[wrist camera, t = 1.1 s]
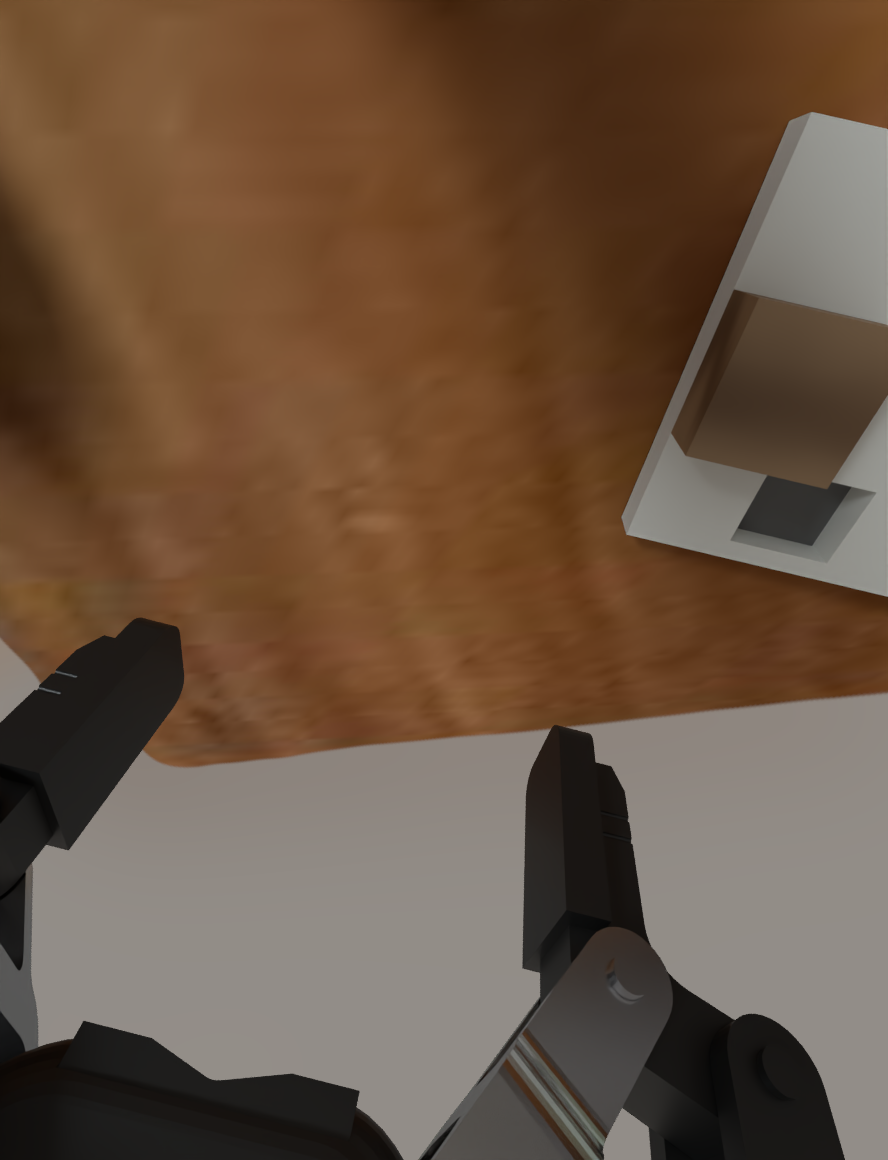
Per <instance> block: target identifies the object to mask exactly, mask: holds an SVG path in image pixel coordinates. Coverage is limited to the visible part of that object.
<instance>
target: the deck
mask: <svg viewBox="0 0 888 1160" xmlns="http://www.w3.org/2000/svg"><path fill="white" fill-rule="evenodd" d="M734 289H735V290H740V291H744V292H748V293H753V294H757V295H761V296H766V297H770V298H774V299H779V300H783V301H787V302H792V303H796V304H800V305H805V306H809V307H813V308H818V309H822V310H826V311H830V312H835V313H839V314H843V315H848V316H852V317H856V318H861V319H865V320H869V321H874V322H878V323H882V324H886V325H888V129H885V128H881V127H876V126H872V125H867V124H863V123H858V122H854V121H850V120H845V119H841V118H836V117H832V116H828V115H823V114H819V113H814V112H810V113H808V114H805V115H803V116H800V117H798V118H795V119H793V120H790V121H789V123H788V125H787V128H786V130H785V132H784V135H783V137H782V139H781V142H780V144H779V147H778V149H777V151H776V154H775V156H774V158H773V161H772V163H771V165H770V168H769V170H768V172H767V175H766V177H765V180H764V182H763V184H762V187H761V189H760V191H759V194H758V196H757V198H756V201H755V203H754V206H753V208H752V210H751V213H750V215H749V217H748V220H747V222H746V224H745V227H744V229H743V231H742V234H741V236H740V239H739V241H738V243H737V246H736V248H735V250H734V253H733V255H732V257H731V260H730V262H729V265H728V267H727V269H726V272H725V274H724V276H723V279H722V281H721V283H720V286H719V288H718V290H717V293H716V295H715V298H714V300H713V302H712V305H711V307H710V309H709V312H708V314H707V316H706V319H705V321H704V324H703V326H702V328H701V331H700V333H699V335H698V338H697V340H696V342H695V345H694V347H693V349H692V352H691V354H690V357H689V359H688V361H687V364H686V366H685V368H684V371H683V373H682V375H681V378H680V380H679V383H678V385H677V387H676V390H675V392H674V394H673V397H672V399H671V401H670V404H669V406H668V408H667V411H666V413H665V416H664V418H663V420H662V423H661V425H660V427H659V430H658V432H657V434H656V437H655V439H654V442H653V444H652V446H651V449H650V451H649V453H648V456H647V458H646V460H645V463H644V465H643V467H642V470H641V472H640V475H639V477H638V479H637V482H636V484H635V486H634V489H633V491H632V493H631V496H630V498H629V501H628V503H627V505H626V508H625V510H624V512H623V515H622V521H623V524H624V528H625V531H626V535H631V536H635V537H639V538H643V539H647V540H652V541H656V542H660V543H664V544H668V545H673V546H677V547H681V548H685V549H689V550H694V551H698V552H702V553H706V554H710V555H715V556H719V557H723V558H727V559H731V560H736V561H740V562H744V563H748V564H752V565H757V566H761V567H765V568H769V569H773V570H778V571H782V572H786V573H790V574H794V575H799V576H803V577H807V578H811V579H815V580H820V581H824V582H828V583H832V584H836V585H841V586H845V587H849V588H853V589H857V590H862V591H866V592H870V593H874V594H878V595H883V596H887V597H888V396H887V397H886V399H885V400H884V402H883V403H882V405H881V406H880V408H879V410H878V411H877V413H876V414H875V416H874V417H873V419H872V420H871V422H870V424H869V425H868V427H867V428H866V430H865V431H864V433H863V434H862V436H861V437H860V439H859V441H858V442H857V444H856V445H855V447H854V448H853V450H852V451H851V453H850V454H849V456H848V458H847V459H846V461H845V462H844V464H843V465H842V467H841V468H840V470H839V472H838V473H837V475H836V476H835V478H834V479H833V481H832V482H831V484H830V485H829V487H828V489H824V488H820V487H815V486H811V485H807V484H803V483H798V482H794V481H790V480H786V479H781V478H777V477H773V476H769V475H764V474H760V473H756V472H752V471H747V470H743V469H739V468H735V467H730V466H726V465H722V464H718V463H713V462H709V461H705V460H701V459H697V458H692V457H688V456H685V454H684V453H683V451H682V450H681V448H680V446H679V445H678V443H677V442H676V440H675V439H674V437H673V435H672V434H671V432H672V429H673V427H674V425H675V422H676V420H677V418H678V416H679V413H680V411H681V409H682V406H683V404H684V402H685V400H686V397H687V395H688V393H689V391H690V388H691V386H692V384H693V381H694V379H695V377H696V375H697V372H698V370H699V368H700V365H701V363H702V361H703V359H704V356H705V354H706V352H707V349H708V347H709V345H710V343H711V340H712V338H713V336H714V333H715V331H716V329H717V327H718V324H719V322H720V320H721V318H722V315H723V313H724V311H725V308H726V306H727V304H728V302H729V299H730V297H731V295H732V292H733V290H734Z"/></svg>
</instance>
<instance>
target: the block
mask: <svg viewBox="0 0 888 1160" xmlns="http://www.w3.org/2000/svg"><path fill="white" fill-rule="evenodd" d="M887 396H888V325H886V324H882V323H878V322H874V321H869V320H865V319H861V318H856V317H852V316H848V315H843V314H839V313H835V312H830V311H826V310H822V309H818V308H813V307H809V306H805V305H800V304H796V303H792V302H787V301H783V300H779V299H774V298H770V297H766V296H761V295H757V294H753V293H748V292H744V291H740V290H735V289H734V290H733V292H732V295H731V297H730V299H729V302H728V304H727V306H726V308H725V311H724V313H723V315H722V318H721V320H720V322H719V324H718V327H717V329H716V331H715V333H714V336H713V338H712V340H711V343H710V345H709V347H708V349H707V352H706V354H705V356H704V359H703V361H702V363H701V365H700V368H699V370H698V372H697V375H696V377H695V379H694V381H693V384H692V386H691V388H690V391H689V393H688V395H687V397H686V400H685V402H684V404H683V406H682V409H681V411H680V413H679V416H678V418H677V420H676V422H675V425H674V427H673V429H672V432H671V434H672V435H673V437H674V439H675V440H676V442H677V443H678V445H679V446H680V448H681V450H682V451H683V453H684V454H685V456H688V457H692V458H697V459H701V460H705V461H709V462H713V463H718V464H722V465H726V466H730V467H735V468H739V469H743V470H747V471H752V472H756V473H760V474H764V475H769V476H773V477H777V478H781V479H786V480H790V481H794V482H798V483H803V484H807V485H811V486H815V487H820V488H824V489H828V487H829V485H830V484H831V482H832V481H833V479H834V478H835V476H836V475H837V473H838V472H839V470H840V468H841V467H842V465H843V464H844V462H845V461H846V459H847V458H848V456H849V454H850V453H851V451H852V450H853V448H854V447H855V445H856V444H857V442H858V441H859V439H860V437H861V436H862V434H863V433H864V431H865V430H866V428H867V427H868V425H869V424H870V422H871V420H872V419H873V417H874V416H875V414H876V413H877V411H878V410H879V408H880V406H881V405H882V403H883V402H884V400H885V399H886V397H887Z"/></svg>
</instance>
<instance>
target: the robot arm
mask: <svg viewBox="0 0 888 1160" xmlns="http://www.w3.org/2000/svg"><path fill="white" fill-rule="evenodd" d="M183 683H184V670H183V660H182V650H181V640H180V632H179V629H178V628H177V627H176V626H172V625H168V624H164V623H160V622H156V621H152V620H148V619H144V618H136V619H134V620H133V621H132V622H131V623H129V624H128V625H127V626H126V627H125V629H124V630H123V631H122V632H121V633H120V634H119V635H118V636H117V637H116V638H112V637H108V636H105V635H104V636H102V637H100V638H98V639H96V640H95V641H93V642H91V643H89V644H87V645H85V646H83V647H81V648H79V649H77V650H76V651H75V652H74V653H73V654H72V655H71V656H70V657H69V658H68V659H66V660H65V661H64V662H63V663H62V664H61V665H60V666H59V667H58V668H57V669H56V672H55V673H54V674H51V675H50V676H49V677H48V678H47V679H46V680H44V681H43V682H42V683H41V684H40V685H39V688H38V690H34V691H33V692H32V693H31V694H30V695H29V696H28V697H27V698H26V699H25V700H24V701H23V702H21V703H20V704H19V705H18V706H17V707H16V708H15V709H14V710H13V711H12V712H11V713H10V714H9V715H8V716H7V717H6V718H5V719H4V720H3V721H2V722H1V723H0V1160H403V1158H402V1156H401V1155H400V1153H399V1151H398V1150H397V1148H396V1146H395V1145H394V1144H393V1143H392V1141H391V1140H390V1138H389V1137H388V1136H387V1135H386V1133H385V1132H384V1131H383V1129H381V1127H380V1126H378V1125H377V1124H376V1123H375V1122H374V1121H373V1120H372V1119H371V1118H370V1117H369V1116H368V1115H367V1114H365V1113H364V1112H362V1111H361V1110H360V1109H358V1108H357V1107H356V1106H357V1101H358V1096H359V1091H357V1090H354V1089H350V1088H346V1087H342V1086H338V1085H334V1084H330V1083H326V1082H322V1081H318V1080H315V1079H311V1078H307V1077H303V1076H299V1075H295V1074H284V1075H274V1076H263V1077H254V1078H253V1077H252V1078H243V1079H232V1080H221V1081H220V1080H217V1081H216V1080H211V1079H209V1078H207V1077H205V1076H204V1075H203V1074H201V1073H200V1072H198V1071H197V1070H195V1069H194V1068H193V1067H191V1066H190V1065H189V1064H187V1063H186V1062H184V1061H183V1060H182V1059H180V1058H179V1057H177V1056H176V1055H175V1054H173V1053H172V1052H170V1051H169V1050H167V1049H166V1048H165V1047H163V1046H162V1045H160V1044H159V1043H158V1042H156V1041H155V1040H153V1039H152V1038H149V1037H145V1036H141V1035H137V1034H133V1033H129V1032H125V1031H122V1030H118V1029H113V1028H110V1027H106V1026H102V1025H97V1024H94V1023H90V1022H86V1021H83V1023H82V1025H81V1027H80V1028H79V1030H78V1032H77V1034H76V1035H75V1037H74V1039H67V1040H63V1041H59V1042H54V1043H50V1044H46V1045H43V1046H40V1047H38V1016H37V1007H36V1001H35V996H34V992H33V987H32V979H31V942H32V888H33V887H32V886H33V867H32V862H33V861H34V859H35V858H36V857H37V855H38V854H39V853H40V852H41V850H42V849H43V848H44V846H45V845H50V846H54V847H57V848H61V849H65V850H69V849H70V848H71V846H72V845H73V844H74V842H75V841H76V840H77V838H78V837H79V835H80V834H81V833H82V831H83V830H84V829H85V827H86V826H87V825H88V823H89V822H90V820H91V819H92V818H93V816H94V815H95V814H96V812H97V811H98V809H99V808H100V807H101V805H102V804H103V803H104V801H105V800H106V799H107V797H108V796H109V795H110V793H111V792H112V790H113V789H114V788H115V786H116V785H117V784H118V782H119V781H120V779H121V778H122V777H123V775H124V774H125V773H126V771H127V770H128V769H129V767H130V766H131V764H132V763H133V762H134V760H135V759H136V757H137V756H138V755H139V754H140V752H141V751H142V749H143V748H144V747H145V745H146V744H147V743H148V741H149V740H150V738H151V737H152V736H153V734H154V733H155V732H156V730H157V729H158V728H159V726H160V725H161V723H162V722H163V721H164V719H165V718H166V717H167V715H168V714H169V713H170V711H171V710H172V708H173V707H174V706H175V704H176V702H177V701H178V698H179V696H180V694H181V691H182V688H183ZM523 968H524V969H527V970H532V971H535V972H539V973H540V997H539V999H538V1000H537V1001H536V1003H535V1004H534V1005H533V1007H532V1008H531V1009H530V1011H529V1012H528V1013H527V1015H526V1016H525V1017H524V1019H523V1020H522V1021H521V1023H520V1024H519V1026H518V1027H517V1028H516V1030H515V1031H514V1033H513V1034H512V1035H511V1036H510V1038H509V1039H508V1041H507V1042H506V1043H505V1045H504V1046H503V1047H502V1049H501V1050H500V1052H499V1053H498V1054H497V1056H496V1057H495V1058H494V1060H493V1061H492V1062H491V1064H490V1065H489V1066H488V1068H487V1069H486V1070H485V1072H484V1073H483V1075H482V1076H481V1077H480V1079H479V1080H478V1081H477V1083H476V1084H475V1085H474V1087H473V1088H472V1089H471V1091H470V1092H469V1093H468V1095H467V1096H466V1097H465V1098H464V1100H463V1101H462V1102H461V1103H460V1105H459V1106H458V1107H457V1108H456V1110H455V1111H454V1113H453V1114H452V1115H451V1116H450V1118H449V1119H448V1120H447V1121H446V1123H445V1124H444V1126H443V1127H442V1128H441V1129H440V1131H439V1132H438V1134H437V1135H436V1136H435V1138H434V1139H433V1140H432V1142H431V1143H430V1144H429V1146H428V1147H427V1149H426V1150H425V1151H424V1152H423V1154H422V1155H421V1157H420V1158H419V1159H418V1160H604V1154H603V1146H604V1143H605V1140H606V1138H607V1135H608V1134H609V1132H610V1130H611V1128H612V1126H613V1124H614V1122H615V1120H616V1118H617V1116H618V1114H619V1113H620V1111H621V1109H622V1108H623V1109H625V1110H626V1111H627V1112H629V1113H630V1114H631V1115H633V1116H634V1117H636V1118H637V1119H638V1120H640V1121H641V1122H642V1123H644V1124H645V1125H647V1126H648V1127H649V1136H650V1149H651V1160H845V1158H844V1155H843V1151H842V1148H841V1144H840V1141H839V1137H838V1134H837V1130H836V1126H835V1123H834V1119H833V1116H832V1112H831V1109H830V1106H829V1102H828V1098H827V1095H826V1092H825V1089H824V1085H823V1083H822V1080H821V1077H820V1075H819V1073H818V1071H817V1068H816V1067H815V1065H814V1063H813V1061H812V1060H811V1058H810V1056H809V1055H808V1053H807V1052H806V1051H805V1049H804V1048H803V1046H802V1045H801V1044H800V1043H799V1042H798V1041H797V1039H796V1038H795V1037H794V1036H793V1035H792V1034H791V1033H790V1032H789V1031H788V1030H786V1029H785V1028H784V1027H782V1026H781V1025H780V1024H778V1023H777V1022H775V1021H773V1020H772V1019H770V1018H767V1017H765V1016H762V1015H758V1014H746V1015H743V1016H741V1017H739V1018H738V1019H736V1020H733V1019H732V1018H730V1017H729V1016H727V1015H726V1014H724V1013H722V1012H721V1011H719V1010H718V1009H716V1008H715V1007H713V1006H712V1005H710V1004H709V1003H707V1002H705V1001H704V1000H702V999H701V998H699V997H698V996H696V995H694V994H693V993H691V992H690V991H688V990H687V989H686V988H684V987H683V986H681V985H680V984H679V983H678V982H677V981H676V980H675V979H673V977H672V976H671V975H670V974H669V973H668V972H667V970H666V968H665V966H664V964H663V962H662V960H661V959H660V957H659V956H658V955H657V953H656V952H655V950H654V949H653V948H652V947H651V945H650V943H649V940H648V937H647V934H646V930H645V925H644V918H643V912H642V906H641V898H640V892H639V885H638V878H637V871H636V865H635V858H634V851H633V845H632V844H631V831H630V825H629V822H628V811H627V804H626V798H625V792H624V789H623V788H622V786H621V784H620V782H619V780H618V778H617V776H616V775H615V772H614V771H613V769H612V767H611V766H608V765H604V764H600V763H596V762H595V754H594V744H593V738H592V736H591V734H589V733H585V732H581V731H577V730H573V729H570V728H566V727H562V726H558V725H554V726H553V727H552V729H551V730H550V732H549V734H548V736H547V739H546V740H545V742H544V744H543V746H542V749H541V750H540V752H539V755H538V757H537V758H536V761H535V762H534V764H533V767H532V769H531V772H530V775H529V779H528V784H527V791H526V819H525V869H524V918H523Z"/></svg>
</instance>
